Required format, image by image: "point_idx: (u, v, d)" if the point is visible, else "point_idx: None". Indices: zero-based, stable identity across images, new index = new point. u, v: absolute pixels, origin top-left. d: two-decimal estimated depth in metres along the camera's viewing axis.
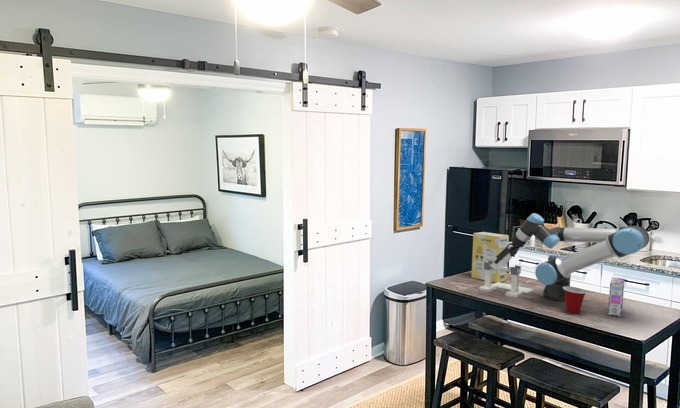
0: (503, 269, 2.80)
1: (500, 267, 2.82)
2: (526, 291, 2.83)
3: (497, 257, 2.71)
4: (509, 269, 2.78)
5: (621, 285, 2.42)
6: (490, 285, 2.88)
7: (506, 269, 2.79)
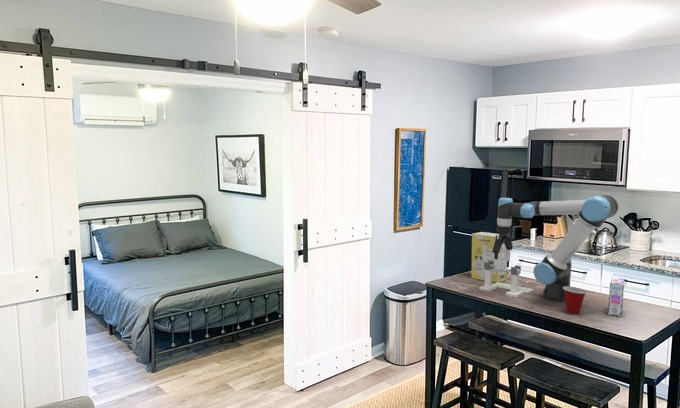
0: (503, 269, 2.80)
1: (500, 267, 2.81)
2: (526, 291, 2.83)
3: (493, 251, 2.74)
4: (509, 269, 2.78)
5: (621, 285, 2.42)
6: (490, 285, 2.88)
7: (506, 269, 2.79)
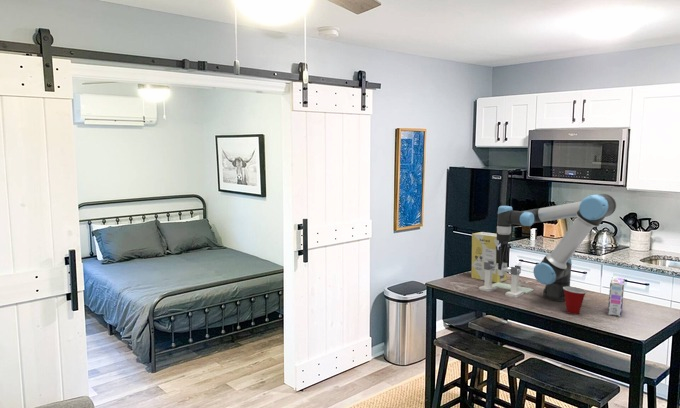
0: (503, 269, 2.80)
1: None
2: (526, 291, 2.83)
3: (497, 262, 2.78)
4: (509, 269, 2.78)
5: (621, 285, 2.42)
6: (490, 285, 2.88)
7: (506, 269, 2.79)
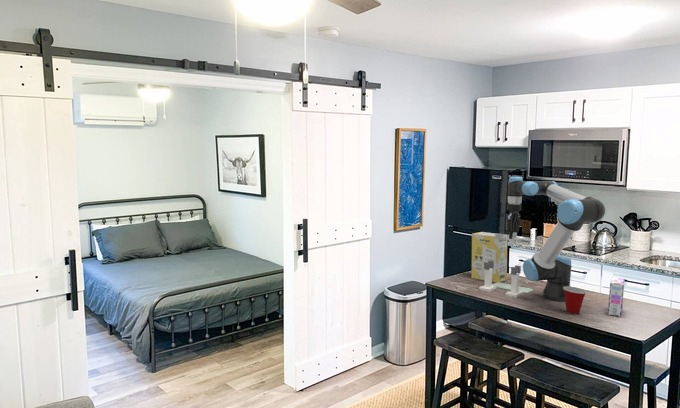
0: (514, 238, 2.87)
1: None
2: (526, 291, 2.83)
3: (508, 231, 2.85)
4: (520, 238, 2.85)
5: (621, 285, 2.42)
6: (490, 285, 2.88)
7: (517, 238, 2.86)
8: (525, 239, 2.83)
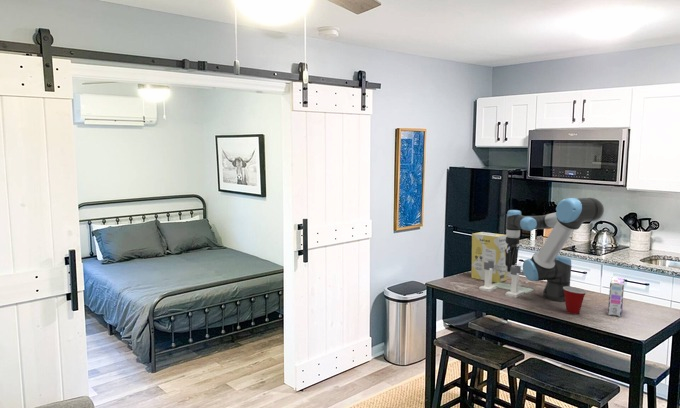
0: None
1: None
2: (526, 291, 2.83)
3: (506, 264, 2.88)
4: None
5: (621, 285, 2.42)
6: (490, 285, 2.88)
7: None
8: (523, 273, 2.85)
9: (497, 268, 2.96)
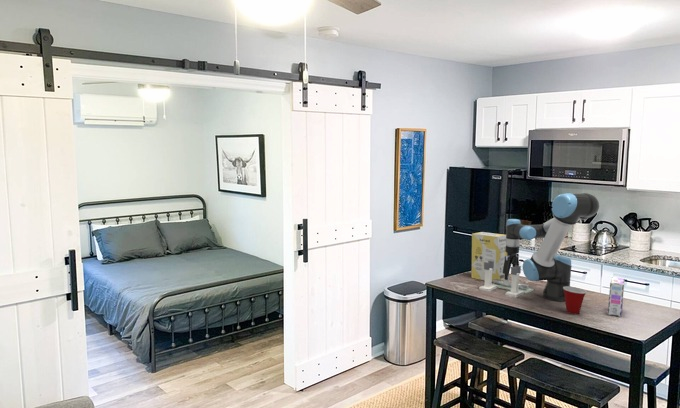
0: None
1: None
2: (526, 291, 2.83)
3: (503, 272, 2.85)
4: None
5: (621, 285, 2.42)
6: (490, 285, 2.88)
7: None
8: (522, 287, 2.86)
9: (497, 282, 2.96)
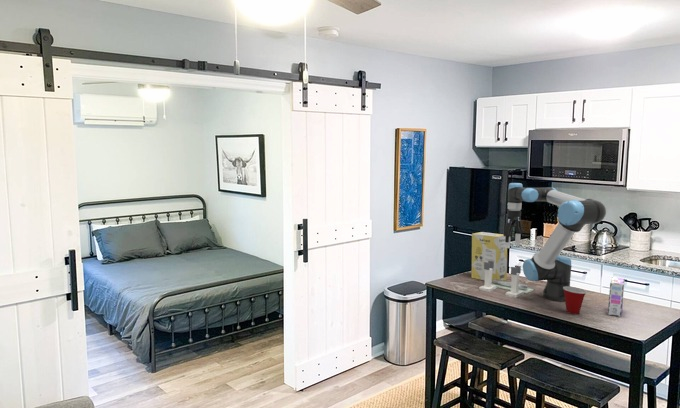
0: None
1: (508, 284, 2.91)
2: (526, 291, 2.83)
3: (504, 234, 2.82)
4: None
5: (621, 285, 2.42)
6: (490, 285, 2.88)
7: None
8: (522, 287, 2.85)
9: (496, 283, 2.96)
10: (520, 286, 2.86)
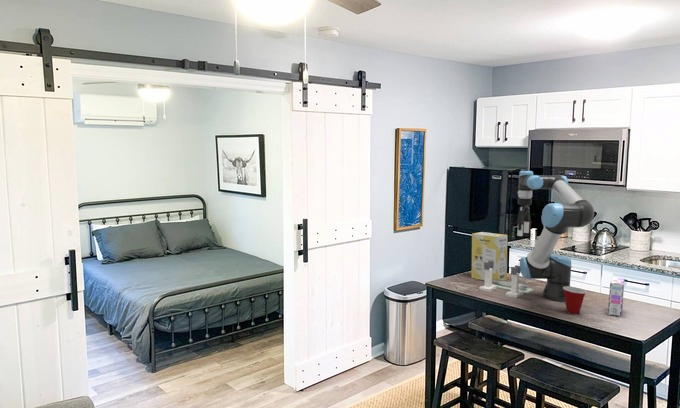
0: None
1: (508, 284, 2.91)
2: (526, 291, 2.83)
3: (518, 222, 2.81)
4: None
5: (621, 285, 2.42)
6: (490, 285, 2.88)
7: None
8: (522, 287, 2.85)
9: (496, 283, 2.96)
10: (520, 286, 2.86)
